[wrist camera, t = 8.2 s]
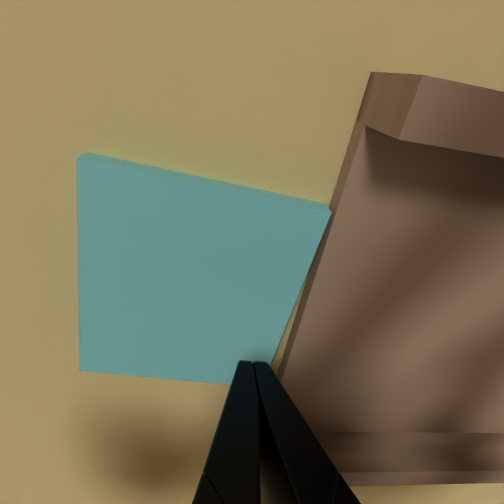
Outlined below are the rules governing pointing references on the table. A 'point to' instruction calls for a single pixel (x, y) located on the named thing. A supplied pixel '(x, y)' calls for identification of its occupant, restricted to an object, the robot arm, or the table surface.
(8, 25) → the table surface
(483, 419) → the brown flat tray
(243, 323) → the cover plate
